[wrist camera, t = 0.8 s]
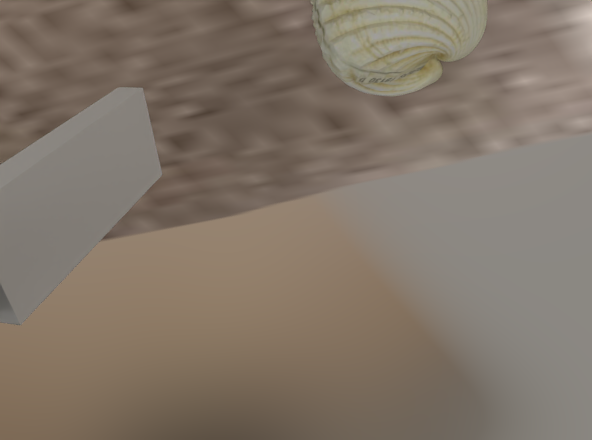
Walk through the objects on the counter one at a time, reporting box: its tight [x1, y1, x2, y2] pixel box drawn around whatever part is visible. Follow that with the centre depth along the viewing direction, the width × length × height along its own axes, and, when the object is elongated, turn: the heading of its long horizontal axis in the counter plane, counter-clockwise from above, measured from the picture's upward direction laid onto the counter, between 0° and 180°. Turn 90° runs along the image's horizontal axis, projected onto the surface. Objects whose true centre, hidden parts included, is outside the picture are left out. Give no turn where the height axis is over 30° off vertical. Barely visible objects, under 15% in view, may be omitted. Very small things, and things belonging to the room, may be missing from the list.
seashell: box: [310, 0, 487, 96], centre depth 25 cm, size 8×8×8 cm
